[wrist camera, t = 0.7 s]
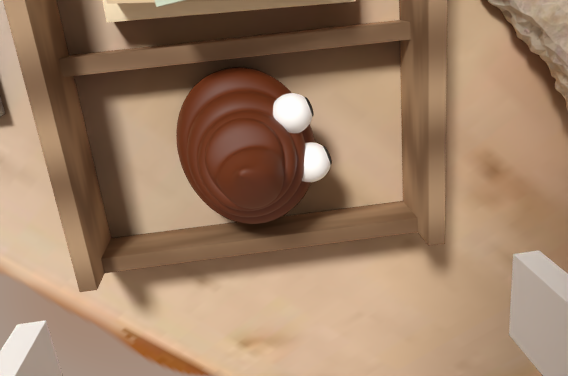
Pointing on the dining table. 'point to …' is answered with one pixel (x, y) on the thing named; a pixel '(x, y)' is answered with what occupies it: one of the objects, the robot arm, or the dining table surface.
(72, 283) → the dining table surface
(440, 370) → the dining table surface
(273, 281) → the dining table surface
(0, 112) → the mat
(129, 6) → the tan flat rectangular block
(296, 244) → the tray
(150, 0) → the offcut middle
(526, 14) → the tablet
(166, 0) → the offcut top
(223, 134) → the poop emoji
